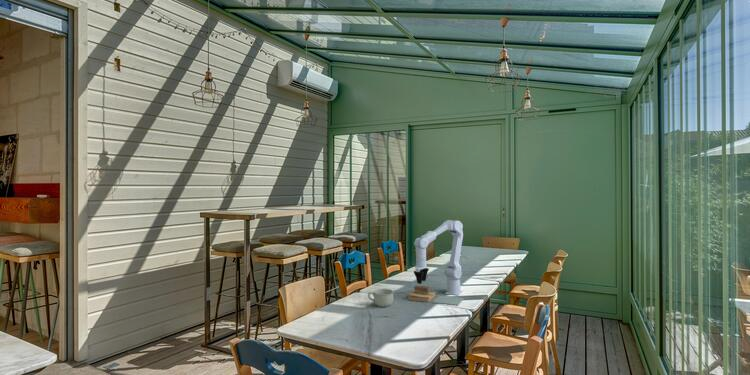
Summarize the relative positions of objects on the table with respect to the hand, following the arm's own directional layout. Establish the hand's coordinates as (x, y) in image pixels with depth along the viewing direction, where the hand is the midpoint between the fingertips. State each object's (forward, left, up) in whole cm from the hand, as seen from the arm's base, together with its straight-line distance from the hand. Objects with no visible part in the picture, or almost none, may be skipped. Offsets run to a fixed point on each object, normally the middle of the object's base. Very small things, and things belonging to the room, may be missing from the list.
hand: (421, 282), depth 227 cm
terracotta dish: (0, 0, -9) cm, 9 cm away
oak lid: (0, 0, -7) cm, 7 cm away
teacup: (+22, -16, -10) cm, 29 cm away
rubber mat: (0, +16, -9) cm, 18 cm away
